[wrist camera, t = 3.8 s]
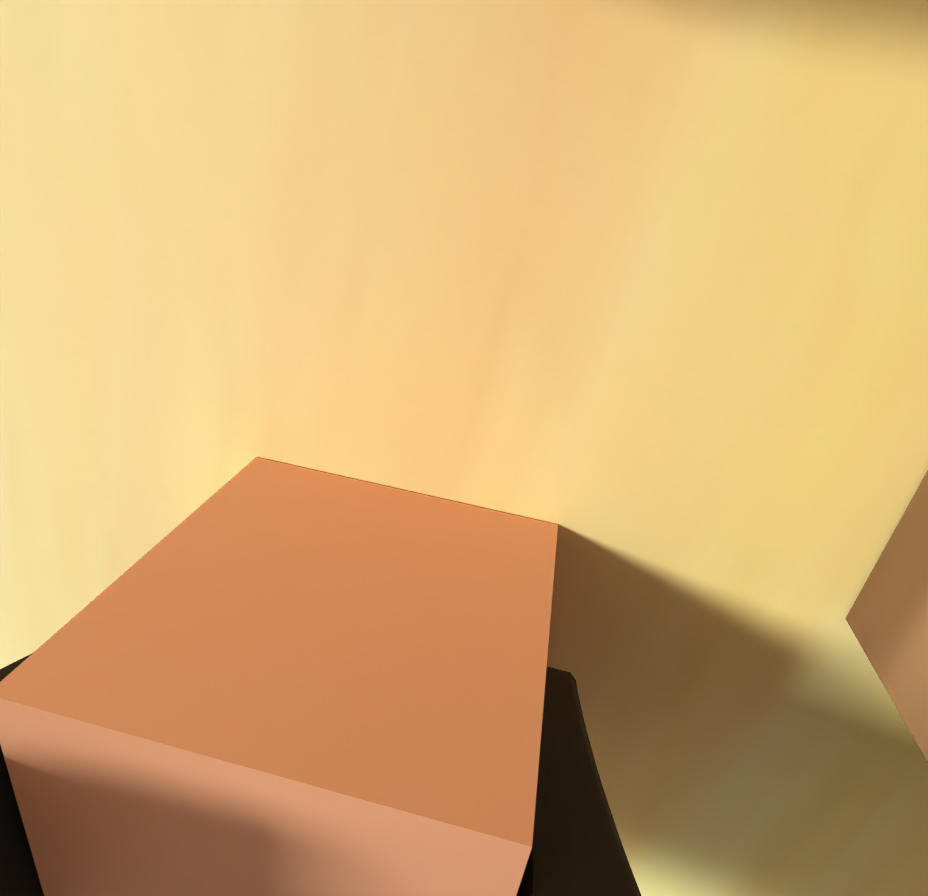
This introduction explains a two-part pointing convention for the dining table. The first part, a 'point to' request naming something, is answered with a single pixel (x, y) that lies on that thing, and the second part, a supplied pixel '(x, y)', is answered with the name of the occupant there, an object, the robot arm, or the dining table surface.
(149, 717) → the terracotta cube
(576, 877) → the robot arm
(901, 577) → the walnut block
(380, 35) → the dining table surface
